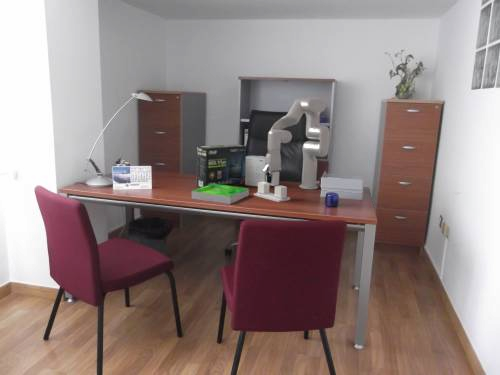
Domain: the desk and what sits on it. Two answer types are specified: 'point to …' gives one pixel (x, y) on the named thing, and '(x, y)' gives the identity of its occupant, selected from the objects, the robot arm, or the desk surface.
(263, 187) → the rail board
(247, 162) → the hard drive box
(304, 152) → the robot arm
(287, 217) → the desk surface
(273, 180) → the block
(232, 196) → the tray
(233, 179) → the router box
